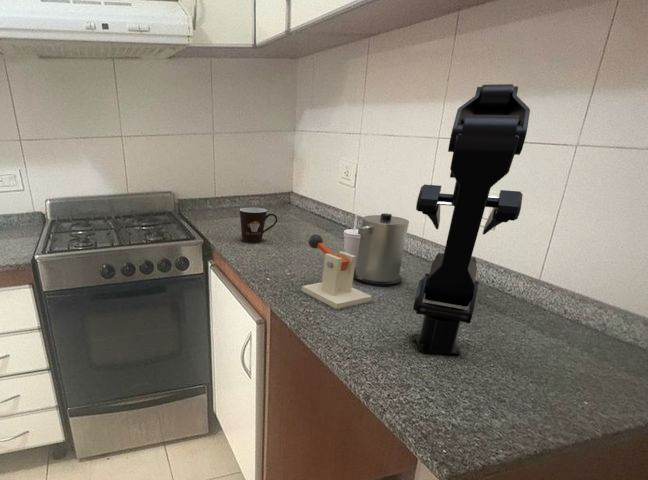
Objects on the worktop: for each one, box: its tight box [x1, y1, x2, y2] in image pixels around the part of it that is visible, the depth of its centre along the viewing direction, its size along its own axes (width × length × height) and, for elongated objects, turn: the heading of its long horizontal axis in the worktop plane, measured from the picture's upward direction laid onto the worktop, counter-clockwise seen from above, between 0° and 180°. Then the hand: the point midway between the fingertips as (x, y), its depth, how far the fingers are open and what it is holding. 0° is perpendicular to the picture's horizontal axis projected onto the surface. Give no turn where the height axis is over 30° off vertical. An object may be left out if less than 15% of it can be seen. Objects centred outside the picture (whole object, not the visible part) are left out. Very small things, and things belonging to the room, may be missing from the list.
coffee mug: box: [239, 207, 278, 244], centre depth 142 cm, size 12×9×10 cm
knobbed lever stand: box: [300, 251, 373, 310], centre depth 97 cm, size 12×10×10 cm
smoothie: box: [342, 214, 361, 269], centre depth 117 cm, size 6×6×14 cm
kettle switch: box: [308, 234, 349, 271], centre depth 99 cm, size 12×3×3 cm, turn 28°
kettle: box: [353, 213, 410, 288], centre depth 107 cm, size 16×12×16 cm
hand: (460, 230), depth 97 cm, fingers open, 9 cm apart
